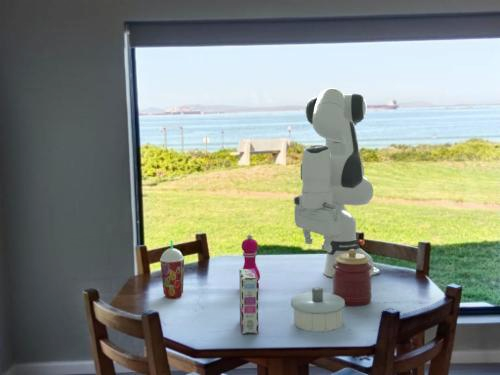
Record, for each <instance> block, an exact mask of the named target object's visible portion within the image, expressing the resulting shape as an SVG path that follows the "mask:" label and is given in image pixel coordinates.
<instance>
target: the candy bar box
mask: <svg viewBox="0 0 500 375" xmlns="http://www.w3.org/2000/svg"><path fill="white" fill-rule="evenodd" d="M238 272H239V323H240V329H241V334H242V335H256V334H258V335H259V288H258V283H259V281H258V277H257V274H256V272H255V269H243V268H240V269H239V271H238Z"/></svg>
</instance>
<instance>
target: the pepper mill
mask: <svg viewBox="0 0 500 375" xmlns="http://www.w3.org/2000/svg"><path fill="white" fill-rule="evenodd" d="M252 236H253V235H251V234H248V235H247V236H246V239H244V240H243V241H242V243H241V249H242V251H243V252H242V254H243V255H242V257H243V258H244V263H243V267H242V269H255V272H256V274H257V277H258V289H260V283H259V281H260V279H261V273H260V270H259V268H258V265H257V262H256V258H257V253H258V252H257V250H258V248H259V243H258V241H257V240H256V239H254V238H253V237H252Z"/></svg>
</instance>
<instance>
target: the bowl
mask: <svg viewBox="0 0 500 375" xmlns="http://www.w3.org/2000/svg"><path fill="white" fill-rule="evenodd" d="M293 321H294V322H293V324H294V326H295V327H298V328H299V329H302V330H306V331H309V332H329V330H330V331H334V330H333V329H335V330H338V329H339V328H340V327H341V325H342V326H343V309H342V310H340V311H338V312H334V313H328V314H311V313H305V312H301V311H298V310H296V309H294V308H293ZM338 327H339V328H338Z"/></svg>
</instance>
